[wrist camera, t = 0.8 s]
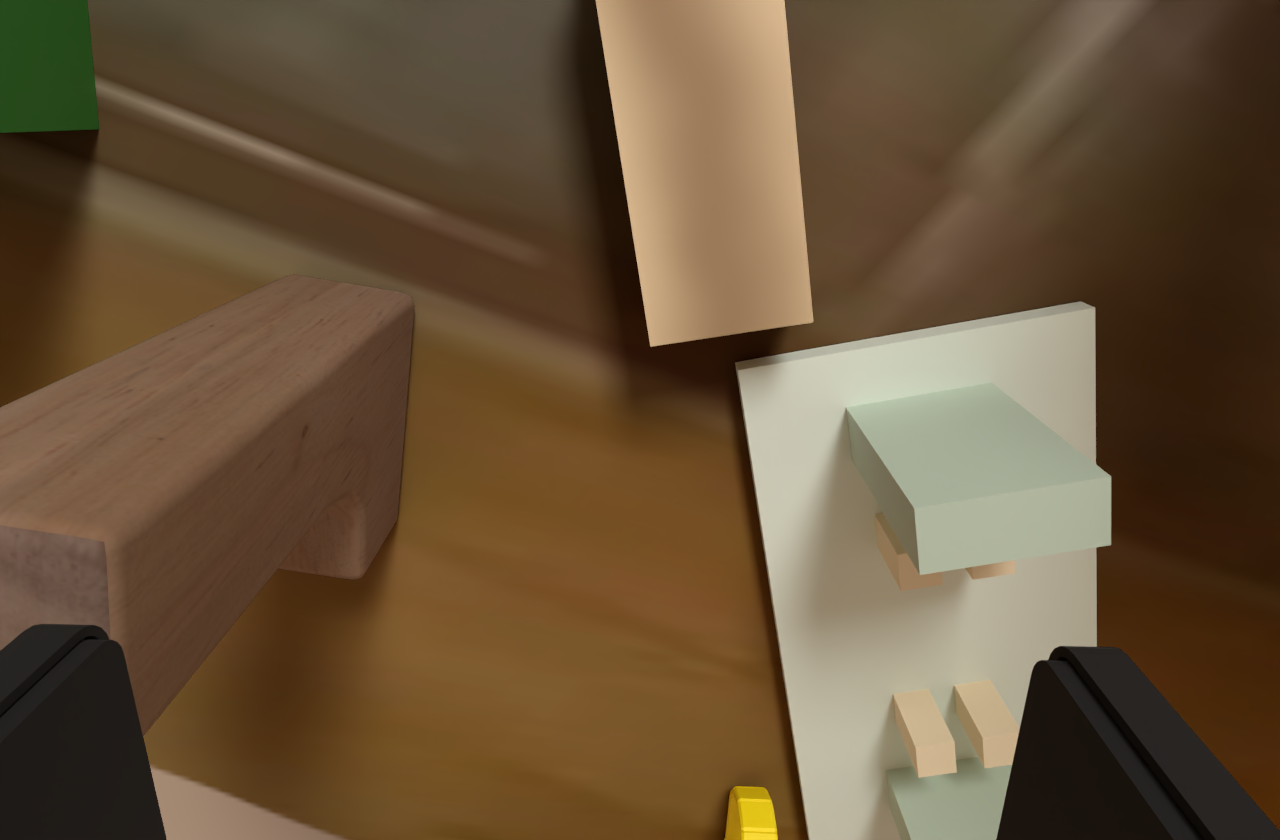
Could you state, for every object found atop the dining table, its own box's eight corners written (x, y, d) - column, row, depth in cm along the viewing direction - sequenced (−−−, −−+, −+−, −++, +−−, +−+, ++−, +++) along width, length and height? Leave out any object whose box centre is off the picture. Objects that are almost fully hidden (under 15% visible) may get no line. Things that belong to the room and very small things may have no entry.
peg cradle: (1080, 301, 29) (1257, 378, 21) (1086, 798, 37) (1218, 1004, 28) (734, 362, 30) (769, 460, 22) (807, 836, 37) (855, 1048, 29)
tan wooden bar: (754, -97, 26) (772, -132, 22) (792, 295, 30) (813, 322, 26) (590, -67, 26) (580, -96, 22) (650, 316, 30) (650, 346, 26)
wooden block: (399, 523, 32) (130, 975, 15) (280, 505, 32) (-126, 943, 15) (418, 292, 29) (108, 538, 12) (286, 270, 29) (-213, 491, 12)
